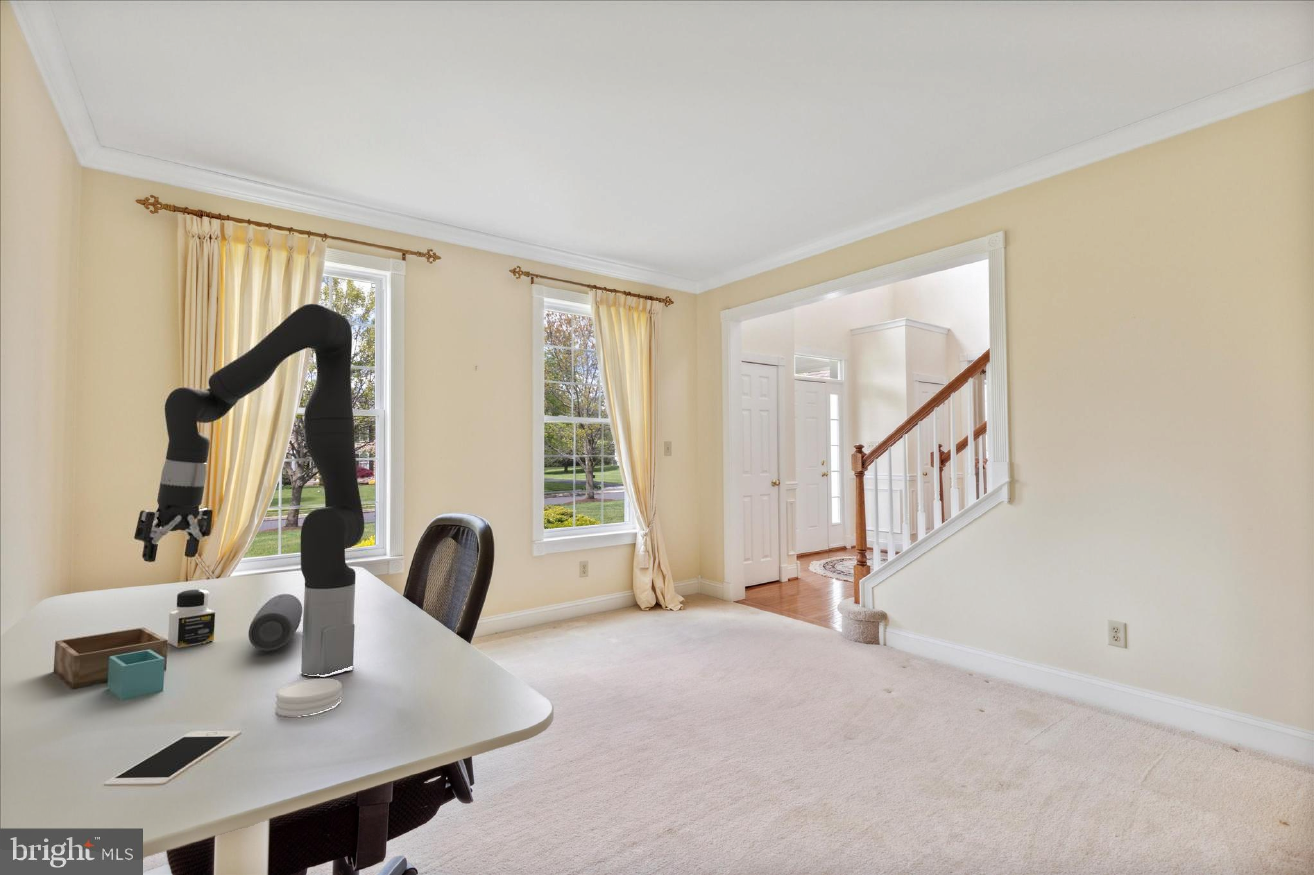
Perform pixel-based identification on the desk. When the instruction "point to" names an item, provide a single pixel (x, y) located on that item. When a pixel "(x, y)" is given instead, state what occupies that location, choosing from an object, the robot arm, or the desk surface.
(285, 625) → the bluetooth speaker
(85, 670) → the walnut crate
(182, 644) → the medicine bottle
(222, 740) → the cell phone
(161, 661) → the small teal crate
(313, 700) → the coaster
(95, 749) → the desk surface
